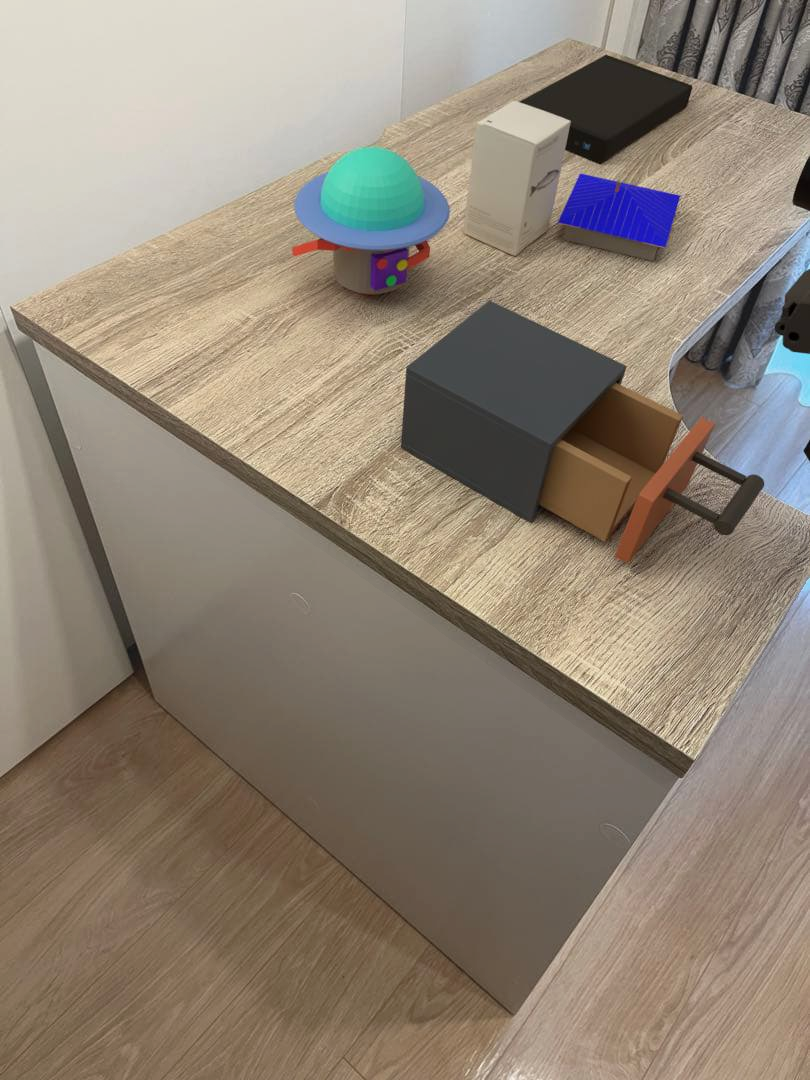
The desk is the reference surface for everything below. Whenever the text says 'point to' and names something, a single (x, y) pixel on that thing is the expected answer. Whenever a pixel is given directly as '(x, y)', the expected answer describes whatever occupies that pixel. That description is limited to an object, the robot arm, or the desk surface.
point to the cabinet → (500, 403)
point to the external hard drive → (610, 105)
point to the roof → (618, 216)
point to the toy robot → (371, 218)
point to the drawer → (634, 471)
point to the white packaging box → (514, 176)
